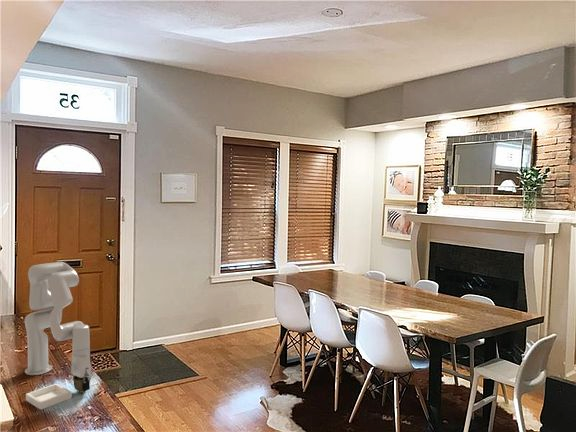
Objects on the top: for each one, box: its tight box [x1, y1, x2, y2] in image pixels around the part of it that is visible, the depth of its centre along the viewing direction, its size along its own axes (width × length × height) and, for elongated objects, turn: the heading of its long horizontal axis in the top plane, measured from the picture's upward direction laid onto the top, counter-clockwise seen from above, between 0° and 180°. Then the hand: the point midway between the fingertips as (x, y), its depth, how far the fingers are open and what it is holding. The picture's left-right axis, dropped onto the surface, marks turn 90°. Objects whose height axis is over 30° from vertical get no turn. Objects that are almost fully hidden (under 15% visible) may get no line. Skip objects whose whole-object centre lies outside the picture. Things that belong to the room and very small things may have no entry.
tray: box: [25, 383, 73, 410], centre depth 212 cm, size 14×14×3 cm
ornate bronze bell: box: [72, 374, 87, 394], centre depth 219 cm, size 8×7×8 cm
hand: (81, 387), depth 219 cm, fingers closed on ornate bronze bell, 7 cm apart
